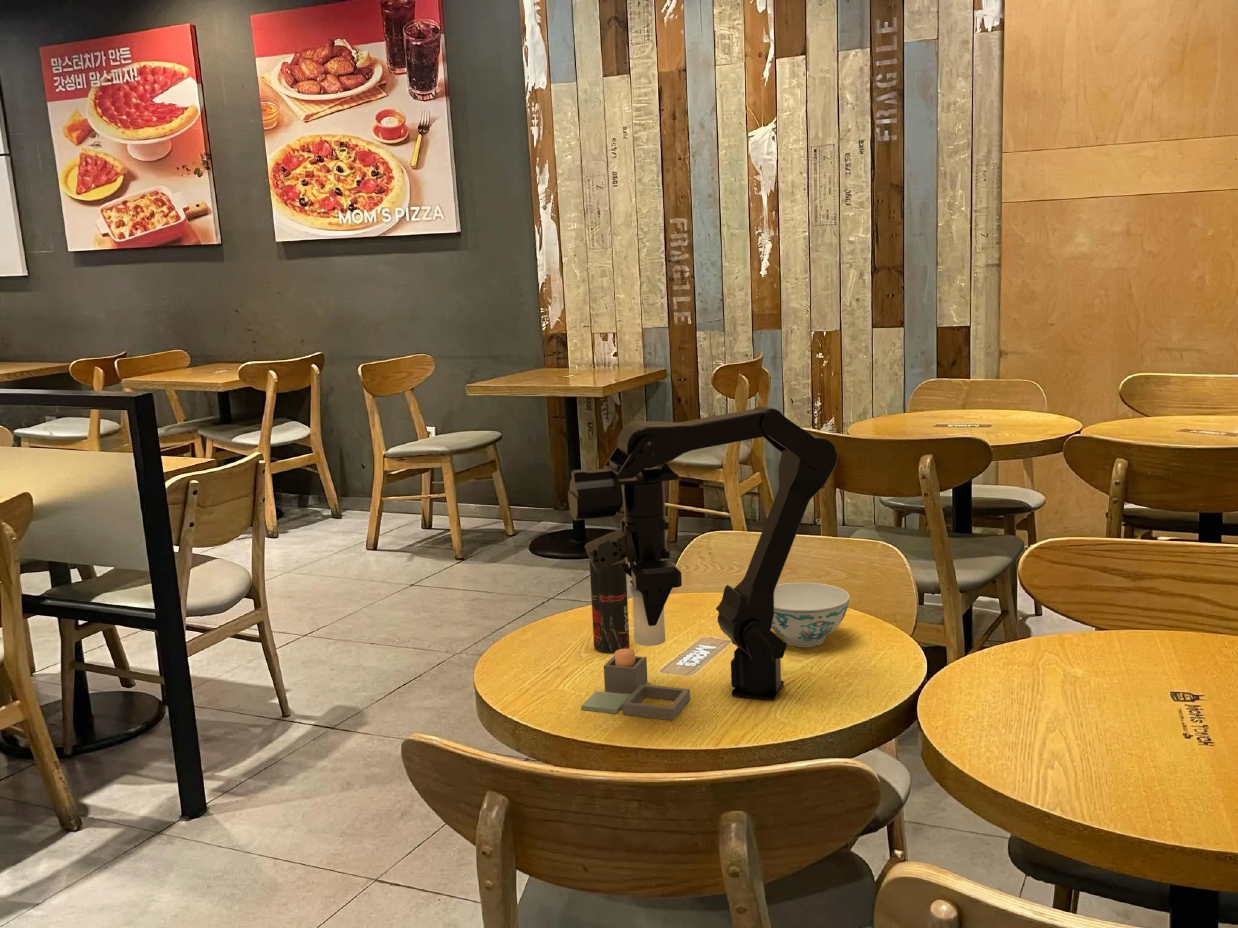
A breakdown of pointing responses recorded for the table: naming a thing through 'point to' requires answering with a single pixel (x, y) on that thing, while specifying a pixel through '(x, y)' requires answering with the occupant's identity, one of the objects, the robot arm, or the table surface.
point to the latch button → (625, 657)
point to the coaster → (605, 702)
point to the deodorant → (609, 608)
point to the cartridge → (646, 623)
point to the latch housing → (625, 676)
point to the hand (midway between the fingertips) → (649, 620)
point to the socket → (656, 711)
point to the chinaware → (808, 612)
